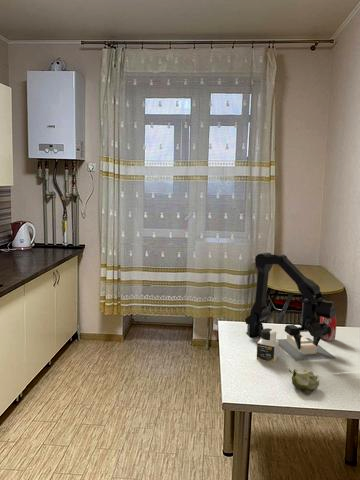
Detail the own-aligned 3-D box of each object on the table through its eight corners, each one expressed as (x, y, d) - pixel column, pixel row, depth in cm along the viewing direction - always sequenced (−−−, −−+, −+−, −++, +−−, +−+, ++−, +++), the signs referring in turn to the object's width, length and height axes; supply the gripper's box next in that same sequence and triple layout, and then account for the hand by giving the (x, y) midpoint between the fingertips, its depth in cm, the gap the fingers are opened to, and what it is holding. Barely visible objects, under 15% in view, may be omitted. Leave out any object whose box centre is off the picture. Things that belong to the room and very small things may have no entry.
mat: (295, 361, 167) (295, 360, 167) (272, 340, 189) (272, 339, 189) (336, 359, 170) (336, 358, 170) (308, 338, 193) (309, 337, 193)
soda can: (337, 342, 189) (339, 316, 187) (321, 342, 189) (323, 316, 187) (332, 336, 196) (333, 312, 194) (317, 336, 196) (318, 311, 194)
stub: (302, 354, 173) (303, 347, 173) (297, 349, 178) (297, 342, 178) (316, 353, 175) (316, 346, 174) (310, 348, 179) (310, 341, 179)
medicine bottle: (256, 359, 169) (257, 330, 167) (261, 353, 175) (262, 325, 173) (273, 363, 165) (275, 334, 164) (278, 356, 172) (279, 328, 170)
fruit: (286, 393, 144) (285, 369, 145) (300, 386, 151) (298, 364, 151) (311, 397, 138) (309, 373, 138) (324, 390, 144) (322, 367, 145)
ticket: (296, 349, 179) (297, 342, 178) (286, 340, 189) (287, 334, 188) (309, 348, 180) (310, 341, 180) (299, 340, 190) (299, 333, 189)
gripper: (297, 320, 165) (295, 357, 167) (340, 318, 168) (337, 355, 170) (285, 311, 175) (283, 347, 178) (325, 310, 179) (323, 344, 181)
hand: (306, 348), depth 176 cm, fingers open, 7 cm apart
